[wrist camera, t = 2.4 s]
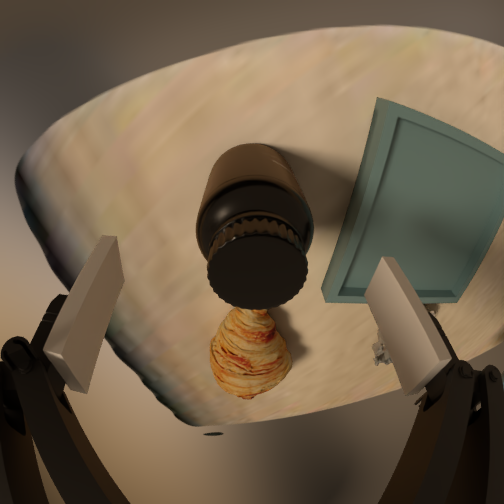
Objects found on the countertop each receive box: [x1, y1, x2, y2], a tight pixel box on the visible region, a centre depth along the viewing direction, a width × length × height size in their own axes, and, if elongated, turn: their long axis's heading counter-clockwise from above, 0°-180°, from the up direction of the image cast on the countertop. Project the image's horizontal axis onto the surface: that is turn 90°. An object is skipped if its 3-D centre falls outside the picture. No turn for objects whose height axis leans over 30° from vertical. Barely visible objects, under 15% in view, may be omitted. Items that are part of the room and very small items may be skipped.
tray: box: [321, 97, 504, 303], centre depth 25 cm, size 20×20×2 cm
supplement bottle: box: [196, 144, 314, 310], centre depth 18 cm, size 7×7×12 cm
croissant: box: [210, 307, 292, 399], centre depth 34 cm, size 21×10×8 cm, turn 179°
